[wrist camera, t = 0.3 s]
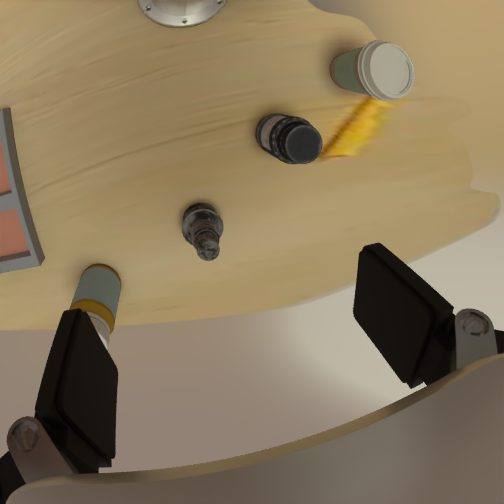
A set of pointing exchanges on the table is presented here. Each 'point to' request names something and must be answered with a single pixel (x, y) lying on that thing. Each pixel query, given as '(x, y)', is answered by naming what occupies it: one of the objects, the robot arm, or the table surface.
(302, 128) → the pill bottle
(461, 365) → the robot arm
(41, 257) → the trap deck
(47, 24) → the table surface
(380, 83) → the coffee cup
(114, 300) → the bottle
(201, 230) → the salt shaker
